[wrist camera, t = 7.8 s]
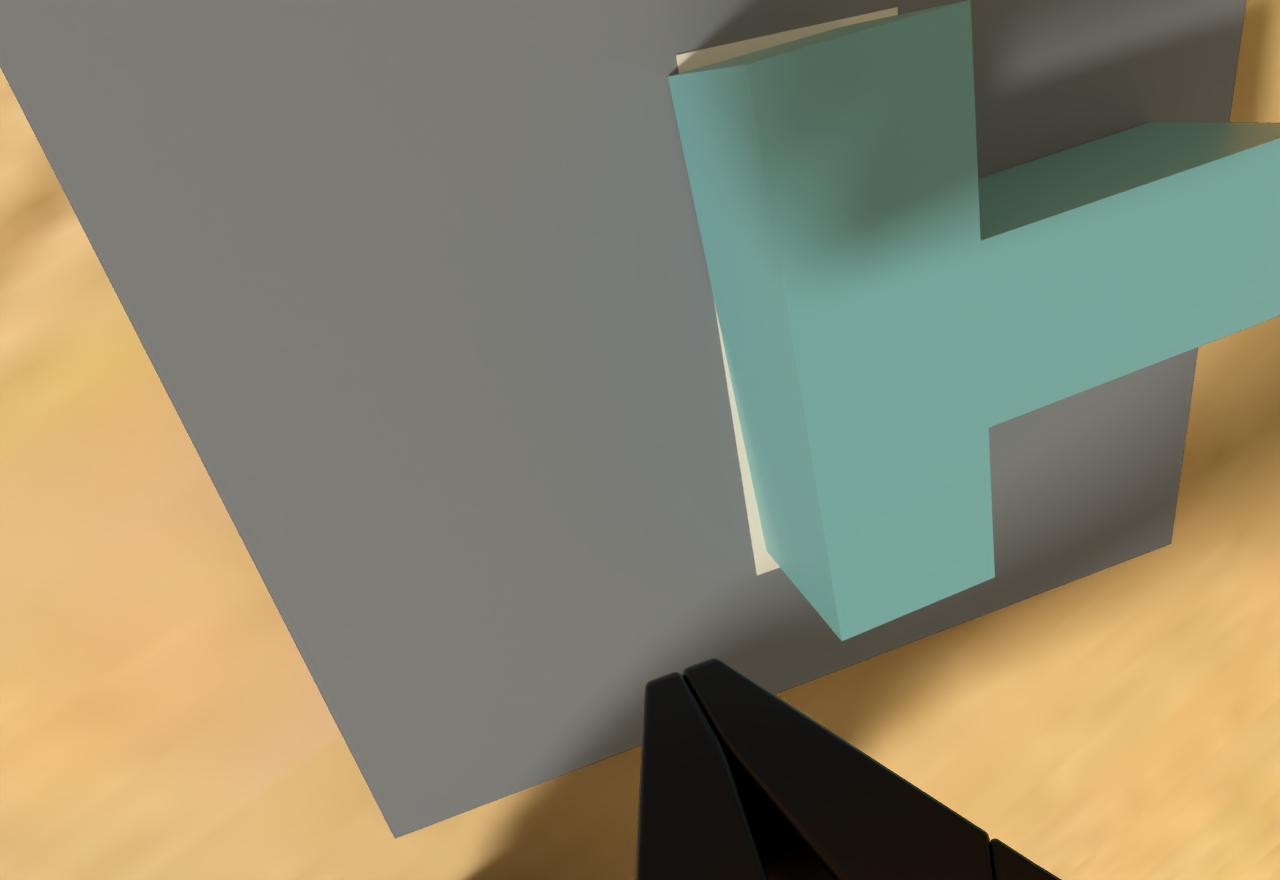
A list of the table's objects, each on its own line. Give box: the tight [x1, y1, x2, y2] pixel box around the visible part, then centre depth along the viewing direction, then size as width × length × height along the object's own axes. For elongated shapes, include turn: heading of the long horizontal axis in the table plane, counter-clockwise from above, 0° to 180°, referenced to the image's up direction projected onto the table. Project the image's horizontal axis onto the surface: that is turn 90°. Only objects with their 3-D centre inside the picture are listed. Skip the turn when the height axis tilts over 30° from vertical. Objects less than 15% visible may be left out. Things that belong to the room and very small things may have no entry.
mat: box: [0, 0, 1246, 838], centre depth 18 cm, size 22×26×1 cm
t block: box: [668, 0, 1280, 641], centre depth 17 cm, size 12×12×4 cm
